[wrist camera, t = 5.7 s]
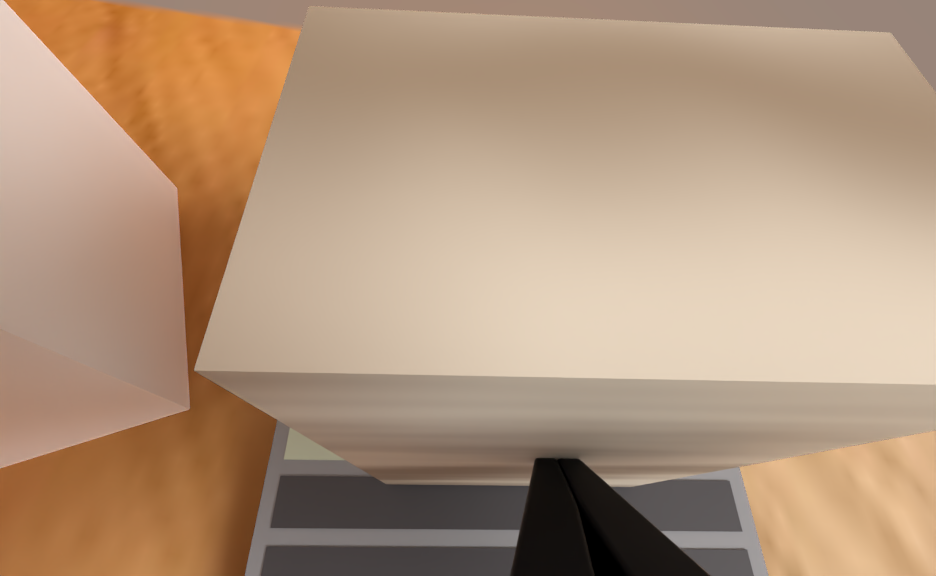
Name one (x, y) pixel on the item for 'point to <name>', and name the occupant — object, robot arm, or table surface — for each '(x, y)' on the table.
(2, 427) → the milk
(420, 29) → the maple block
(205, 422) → the table surface
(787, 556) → the table surface
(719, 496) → the grey piece
